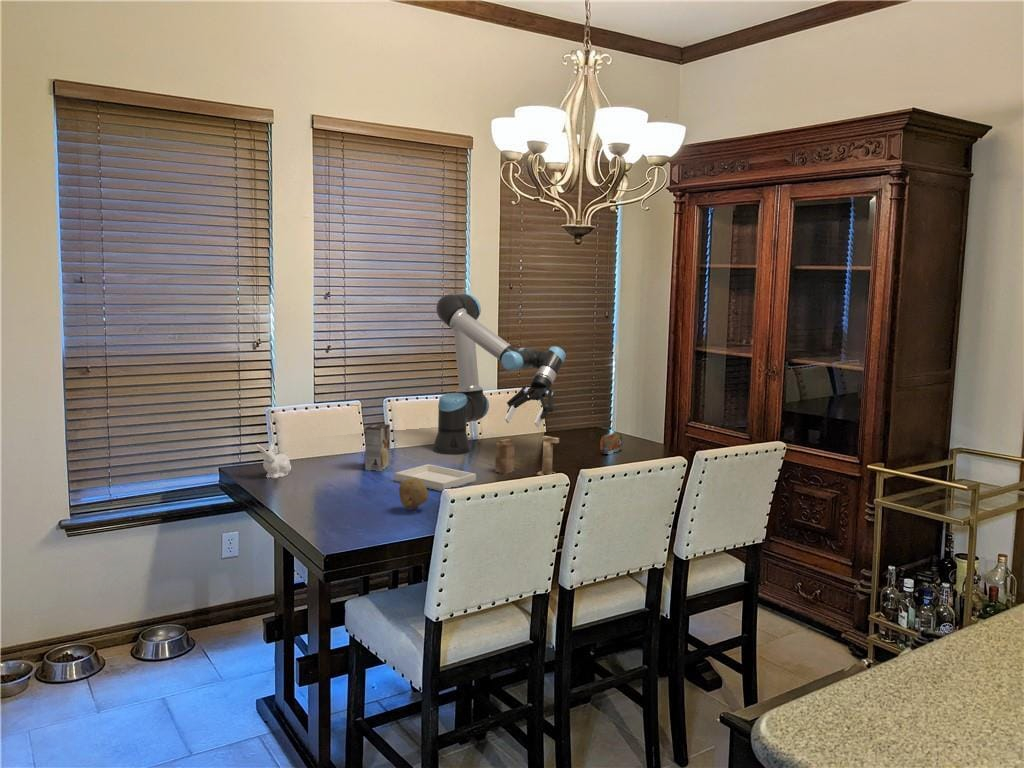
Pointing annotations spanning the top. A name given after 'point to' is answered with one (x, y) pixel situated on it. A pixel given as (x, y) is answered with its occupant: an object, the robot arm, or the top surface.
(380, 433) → the coffee box
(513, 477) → the top surface
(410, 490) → the natural sponge
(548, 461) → the oak post
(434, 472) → the tray
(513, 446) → the brown upright block
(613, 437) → the tin
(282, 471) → the rabbit
